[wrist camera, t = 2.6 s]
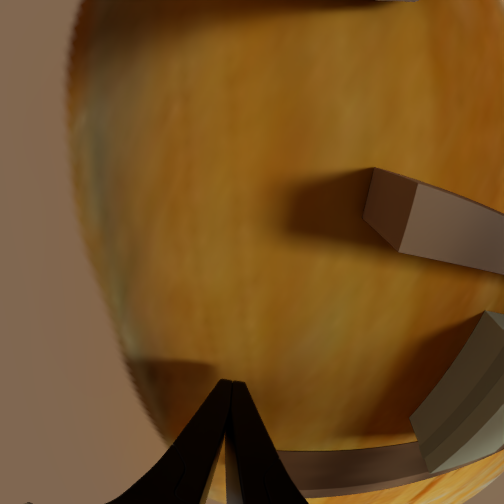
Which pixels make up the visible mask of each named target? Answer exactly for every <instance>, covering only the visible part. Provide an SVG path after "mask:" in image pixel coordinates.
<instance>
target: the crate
mask: <svg viewBox="0 0 504 504" xmlns="http://www.w3.org/2000/svg"><path fill="white" fill-rule="evenodd" d="M409 420H410V422H411V425H412V427H413V430H414V432H415V435H416V438H417V440H418V443H419V450H420V452H421V455H422V458H423V459H425V462H426V465H427V468H428V471H429V474H432V473H435V472H439V471H442V470H446V469H449V468H453V467H456V466H459V465H462V464H465V463H468V462H471V461H473V460H476V459H479V458H481V457H484V456H486V455H489V454H491V453H494V452H496V451H497V450H498V449H499V448H500V447H501V446H502V445H503V444H504V314H500V313H495V312H490V311H484V313H483V315H482V317H481V319H480V320H479V322H478V324H477V326H476V327H475V329H474V331H473V332H472V334H471V336H470V337H469V339H468V340H467V342H466V344H465V345H464V347H463V348H462V350H461V351H460V353H459V354H458V356H457V357H456V359H455V360H454V362H453V363H452V365H451V366H450V367H449V369H448V370H447V372H446V373H445V374H444V376H443V377H442V378H441V380H440V381H439V382H438V384H437V385H436V386H435V388H434V389H433V390H432V391H431V393H430V394H429V395H428V396H427V398H426V399H425V400H424V401H423V402H422V404H421V405H420V406H419V407H418V408H417V409H416V411H415V412H414V413H413V414H412V415H411V416H410V417H409Z"/></svg>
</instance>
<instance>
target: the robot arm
mask: <svg viewBox="0 0 504 504" xmlns="http://www.w3.org/2000/svg"><path fill="white" fill-rule="evenodd" d="M224 436H225V468H226V498H227V504H309V503H308V502H307V501H306V499H305V498H304V497H303V495H302V494H301V493H300V491H299V490H298V488H297V487H296V485H295V484H294V482H293V481H292V479H291V478H290V476H289V474H288V472H287V471H286V469H285V467H284V465H283V463H282V461H281V459H279V455H278V453H277V451H276V449H275V447H274V445H273V443H272V440H271V438H270V436H269V434H268V432H267V430H266V428H265V426H264V423H263V421H262V419H261V417H260V415H259V413H258V410H257V408H256V406H255V404H254V401H253V399H252V397H251V395H250V392H249V390H248V388H247V386H246V384H245V382H241V381H233V383H232V380H227V379H220V380H219V382H218V383H217V384H216V386H215V387H214V389H213V390H212V391H211V393H210V394H209V396H208V397H207V398H206V400H205V401H204V402H203V404H202V405H201V407H200V408H199V409H198V411H197V412H196V413H195V415H194V416H193V417H192V419H191V420H190V421H189V423H188V424H187V425H186V427H185V428H184V429H183V431H182V432H181V433H180V435H179V436H178V437H177V439H176V440H175V441H174V443H173V445H171V446H170V448H169V449H168V450H167V451H166V453H165V454H164V455H163V456H162V457H161V459H160V460H159V461H158V462H157V463H156V464H155V465H154V466H153V467H152V468H151V469H150V470H149V471H148V472H147V473H146V474H145V475H144V476H143V477H141V478H140V479H139V480H138V481H137V482H136V483H135V484H133V485H132V486H131V487H130V488H129V489H128V490H126V491H125V492H124V493H123V494H122V495H120V496H119V497H117V498H116V499H114V500H112V501H110V502H108V503H106V504H205V503H206V500H207V496H208V493H209V490H210V486H211V483H212V479H213V476H214V472H215V469H216V465H217V462H218V458H219V455H220V451H221V447H222V444H223V440H224ZM25 504H32V503H30V502H27V503H25Z"/></svg>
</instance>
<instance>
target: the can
mask: <svg viewBox="0 0 504 504" xmlns="http://www.w3.org/2000/svg"><path fill="white" fill-rule="evenodd" d="M377 1H407V2H415V1H418V0H377Z"/></svg>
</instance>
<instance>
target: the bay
mask: <svg viewBox="0 0 504 504" xmlns="http://www.w3.org/2000/svg"><path fill="white" fill-rule="evenodd" d="M362 219H364V220H365V221H366V222H367V223H368V224H369V225H370V226H371V227H372V228H373V229H374V230H376V231H377V232H378V233H379V234H380V235H381V236H382V237H383V238H384V239H385V240H386V241H387V242H388V243H389V244H390V245H391V246H392V247H393V248H394V249H395V250H397V251H398V252H400V253H405V254H410V255H415V256H420V257H425V258H430V259H434V260H439V261H444V262H449V263H453V264H458V265H463V266H467V267H472V268H477V269H481V270H486V271H490V272H494V273H499V274H503V275H504V214H503V213H501V212H499V211H497V210H494V209H492V208H490V207H487V206H485V205H483V204H480V203H478V202H475V201H473V200H470V199H468V198H465V197H463V196H460V195H458V194H455V193H452V192H450V191H447V190H444V189H442V188H439V187H436V186H433V185H430V184H427V183H424V182H421V181H418V180H415V179H412V178H409V177H406V176H403V175H400V174H396V173H393V172H390V171H386V170H383V169H379V168H376V167H374V171H373V175H372V180H371V184H370V188H369V192H368V196H367V200H366V204H365V208H364V212H363V216H362ZM503 449H504V444H503V445H502V446H501V447H500V448H499V449H498V450H497V451H496V452H494V453H491V454H489V455H486V456H484V457H481V458H479V459H476V460H473V461H471V462H468V463H465V464H462V465H459V466H456V467H453V468H449V469H446V470H442V471H439V472H435V473H432V474H429V471H428V468H427V465H426V462H425V459H423V458H422V455H421V452H420V450H419V443H418V442H413V443H407V444H401V445H395V446H388V447H380V448H371V449H360V450H347V451H324V452H292V451H277V453H278V455H279V459H281V461H282V463H283V465H284V467H285V469H286V471H287V472H288V474H289V476H290V478H291V479H292V481H293V482H294V484H295V485H296V487H297V488H298V490H299V491H300V493H301V494H302V495H303V497H304V498H320V497H332V496H343V495H351V494H358V493H365V492H371V491H377V490H383V489H388V488H393V487H397V486H402V485H406V484H410V483H414V482H418V481H421V480H425V479H428V478H432V477H435V476H438V475H441V474H444V473H447V472H450V471H453V470H456V469H459V468H462V467H464V466H467V465H469V464H472V463H474V462H477V461H479V460H481V459H484V458H486V457H488V456H491V455H493V454H495V453H497V452H499V451H501V450H503Z"/></svg>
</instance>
